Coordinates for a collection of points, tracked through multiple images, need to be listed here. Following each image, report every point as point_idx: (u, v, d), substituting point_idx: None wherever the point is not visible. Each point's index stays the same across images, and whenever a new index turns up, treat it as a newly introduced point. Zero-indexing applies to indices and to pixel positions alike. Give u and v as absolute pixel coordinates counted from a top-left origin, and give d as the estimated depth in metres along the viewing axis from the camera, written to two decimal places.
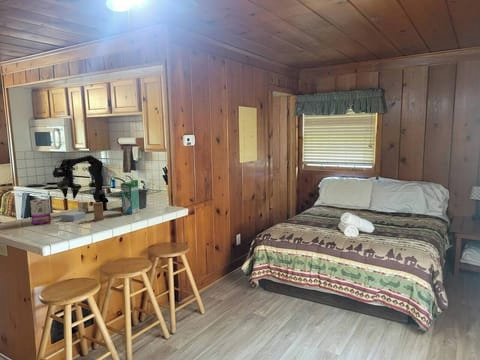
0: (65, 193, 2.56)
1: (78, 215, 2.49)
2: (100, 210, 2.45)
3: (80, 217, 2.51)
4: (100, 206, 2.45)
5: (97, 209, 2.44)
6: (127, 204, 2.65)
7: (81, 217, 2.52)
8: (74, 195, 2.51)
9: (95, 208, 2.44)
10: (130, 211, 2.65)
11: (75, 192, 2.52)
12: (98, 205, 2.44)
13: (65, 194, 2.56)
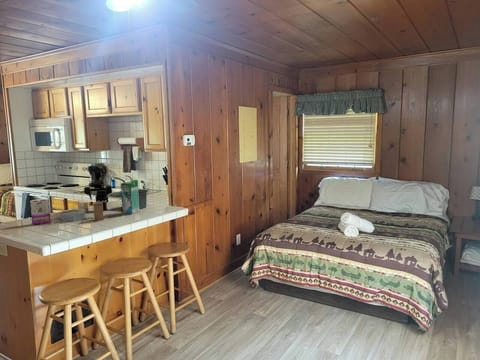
0: None
1: (78, 215, 2.49)
2: (100, 210, 2.45)
3: (80, 217, 2.51)
4: (100, 206, 2.45)
5: (97, 209, 2.44)
6: (127, 204, 2.65)
7: (81, 217, 2.52)
8: (106, 196, 2.57)
9: (95, 208, 2.44)
10: (130, 211, 2.65)
11: (106, 194, 2.58)
12: (98, 205, 2.44)
13: (91, 197, 2.54)
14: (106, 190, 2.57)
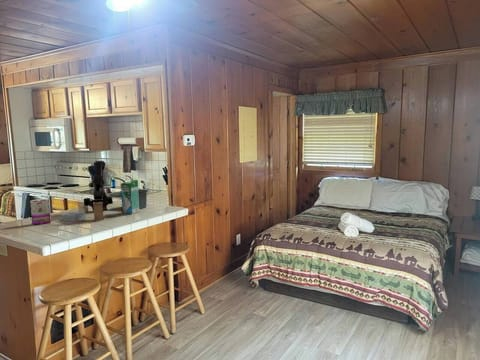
0: (93, 207, 2.47)
1: (78, 215, 2.49)
2: (100, 210, 2.45)
3: (80, 217, 2.51)
4: (100, 206, 2.45)
5: (97, 209, 2.44)
6: (127, 204, 2.65)
7: (81, 217, 2.52)
8: (104, 207, 2.48)
9: (95, 208, 2.44)
10: (130, 211, 2.65)
11: (104, 205, 2.50)
12: (98, 205, 2.44)
13: None
14: (104, 201, 2.49)
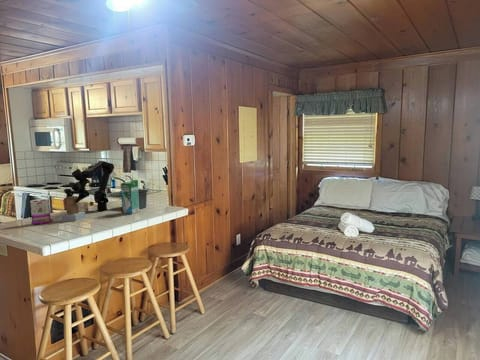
0: None
1: (79, 215, 2.50)
2: (70, 204, 2.48)
3: (81, 217, 2.51)
4: (70, 200, 2.47)
5: (68, 203, 2.48)
6: (127, 204, 2.65)
7: (81, 217, 2.52)
8: (78, 199, 2.49)
9: (66, 201, 2.48)
10: (130, 211, 2.65)
11: (80, 197, 2.50)
12: (68, 199, 2.47)
13: None
14: (79, 194, 2.49)
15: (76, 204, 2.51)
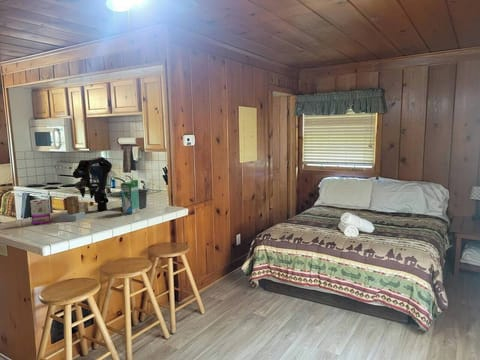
0: (83, 193, 2.66)
1: (79, 215, 2.49)
2: (71, 204, 2.48)
3: (81, 217, 2.51)
4: (70, 200, 2.48)
5: (69, 202, 2.48)
6: (127, 204, 2.65)
7: (81, 217, 2.52)
8: (91, 195, 2.61)
9: (67, 201, 2.49)
10: (130, 211, 2.65)
11: (92, 192, 2.61)
12: (69, 199, 2.48)
13: (83, 194, 2.65)
14: (89, 190, 2.58)
15: (77, 204, 2.51)
